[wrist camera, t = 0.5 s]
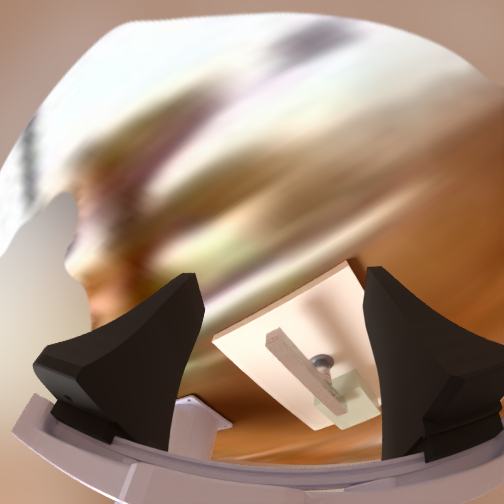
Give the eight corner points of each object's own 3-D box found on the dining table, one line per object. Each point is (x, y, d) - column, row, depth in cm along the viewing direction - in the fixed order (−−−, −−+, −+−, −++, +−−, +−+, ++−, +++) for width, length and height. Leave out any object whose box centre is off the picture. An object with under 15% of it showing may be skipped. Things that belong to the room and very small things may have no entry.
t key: (331, 387, 26) (335, 417, 22) (266, 314, 22) (262, 347, 19) (345, 381, 25) (350, 411, 21) (282, 305, 22) (281, 338, 18)
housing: (314, 424, 31) (314, 431, 30) (214, 335, 25) (211, 342, 24) (412, 381, 26) (414, 388, 25) (346, 260, 21) (349, 266, 20)
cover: (339, 413, 28) (341, 429, 26) (313, 387, 26) (314, 406, 24) (377, 397, 26) (381, 413, 24) (355, 368, 24) (359, 386, 22)
